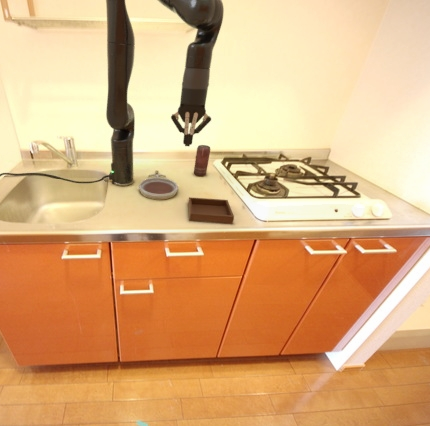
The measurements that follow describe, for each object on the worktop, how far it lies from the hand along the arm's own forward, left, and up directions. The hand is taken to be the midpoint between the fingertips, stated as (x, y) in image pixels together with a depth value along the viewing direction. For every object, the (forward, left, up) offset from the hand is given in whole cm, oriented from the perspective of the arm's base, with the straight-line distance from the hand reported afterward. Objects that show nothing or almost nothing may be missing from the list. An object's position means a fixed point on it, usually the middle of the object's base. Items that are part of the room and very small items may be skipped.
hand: (187, 145), depth 76 cm
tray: (+10, -5, -23) cm, 26 cm away
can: (+10, +31, -23) cm, 40 cm away
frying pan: (-10, +16, -23) cm, 30 cm away
